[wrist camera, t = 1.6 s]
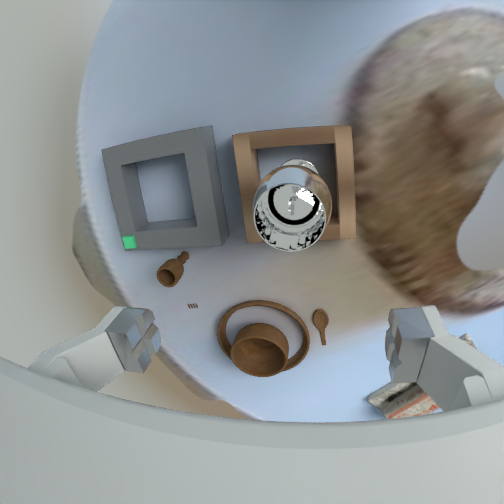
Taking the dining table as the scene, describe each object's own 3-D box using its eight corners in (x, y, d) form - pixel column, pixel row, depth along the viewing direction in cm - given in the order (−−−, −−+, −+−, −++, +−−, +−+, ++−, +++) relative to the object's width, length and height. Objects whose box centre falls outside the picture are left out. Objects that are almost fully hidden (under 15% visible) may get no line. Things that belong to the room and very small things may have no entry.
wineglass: (296, 218, 32) (287, 275, 21) (257, 178, 31) (226, 215, 20) (338, 182, 29) (353, 223, 19) (299, 140, 28) (291, 154, 18)
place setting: (214, 365, 44) (203, 394, 39) (169, 245, 37) (147, 267, 32) (332, 360, 40) (332, 392, 35) (316, 223, 32) (316, 245, 27)
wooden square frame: (239, 133, 29) (232, 135, 26) (347, 125, 27) (350, 126, 24) (252, 232, 33) (247, 243, 31) (352, 227, 31) (355, 238, 28)
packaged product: (477, 351, 30) (494, 382, 31) (465, 328, 34) (485, 361, 36) (368, 417, 37) (399, 438, 39) (366, 393, 42) (396, 416, 43)
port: (116, 145, 32) (99, 150, 29) (212, 125, 29) (200, 127, 26) (137, 240, 37) (123, 252, 34) (229, 235, 34) (220, 247, 31)
